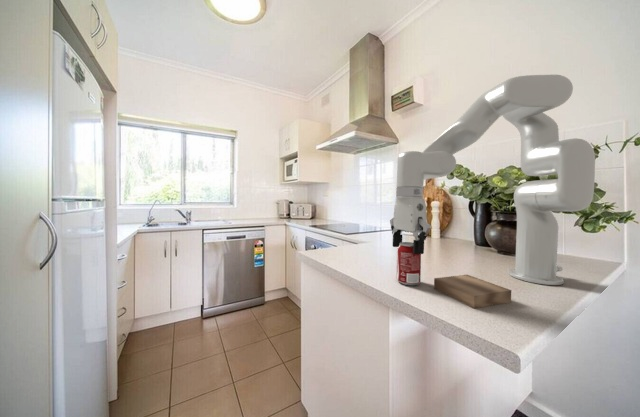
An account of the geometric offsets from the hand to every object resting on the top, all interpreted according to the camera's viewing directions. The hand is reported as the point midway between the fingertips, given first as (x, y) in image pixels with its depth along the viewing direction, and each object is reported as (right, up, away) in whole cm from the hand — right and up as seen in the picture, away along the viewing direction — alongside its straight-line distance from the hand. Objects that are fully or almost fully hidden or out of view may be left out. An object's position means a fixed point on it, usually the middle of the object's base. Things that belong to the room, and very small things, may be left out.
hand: (407, 250), depth 67 cm
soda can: (+1, -10, 0) cm, 10 cm away
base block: (+13, -10, -8) cm, 19 cm away
